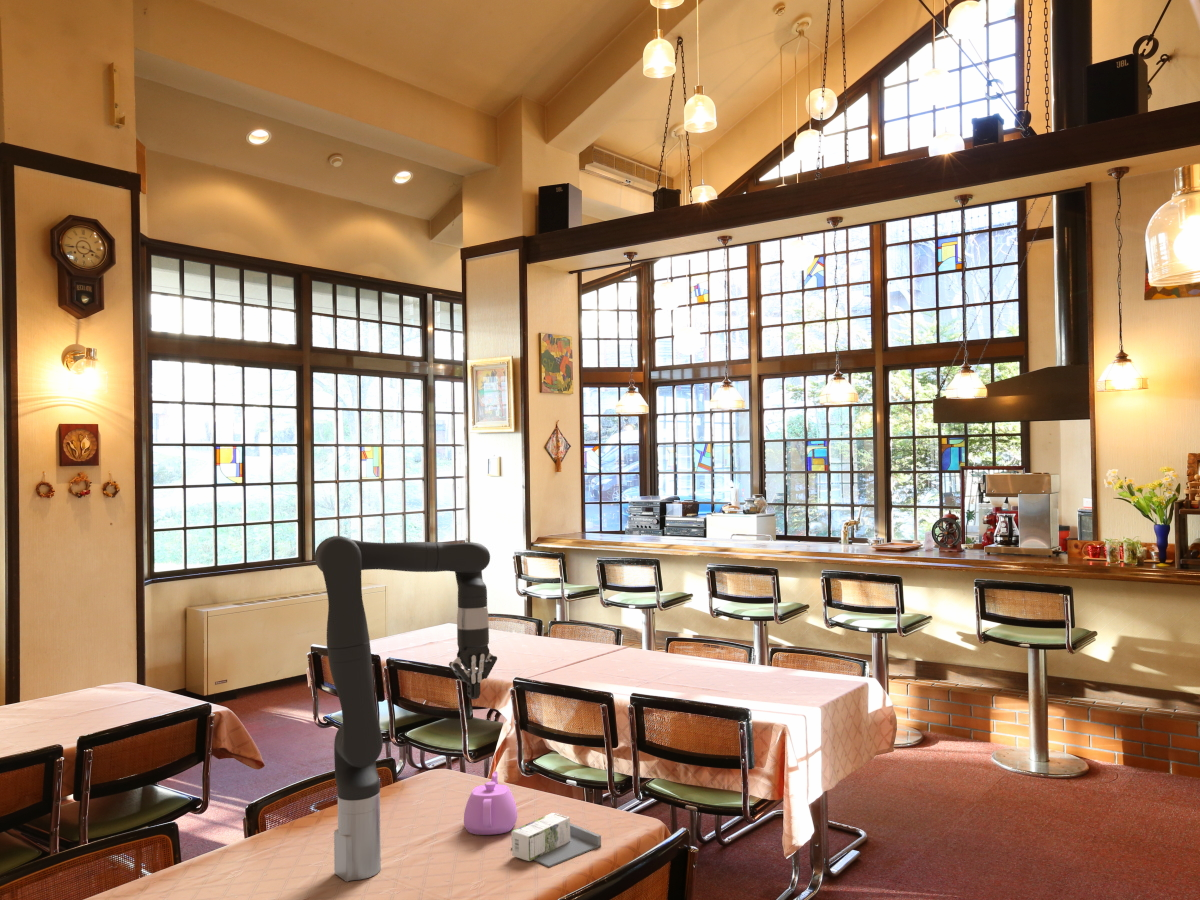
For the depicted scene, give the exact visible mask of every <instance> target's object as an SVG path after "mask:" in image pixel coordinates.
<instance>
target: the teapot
mask: <svg viewBox="0 0 1200 900" xmlns="http://www.w3.org/2000/svg"><path fill="white" fill-rule="evenodd" d="M498 774H499V773H498V771H493V772H492V775H491V781H487V782H485V783H484V784H481V785H477V786H475V787H474V788H473V789H472V791H471V793H470V795H469V797H468V799H467V801H466V804H465V808H464V812H463V813H464V814H463V825H464V827H465V830H467V832H468V833H470V834H472V835H473V834H474V835H480V836H481V835H482V836H485V835H486V836H490V835H492V836H493V835H501V834H506V833H508V832H510V831H512V830H513V828H514V826H515V825H516V823H517V820H518V808H517V803H516V800H515V797H514V796H513V793H512V791H511V789H510V787H509V786H508V785H506V784H500V783H499V780H498V777H499V776H498Z"/></svg>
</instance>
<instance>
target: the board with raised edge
mask: <svg viewBox="0 0 1200 900" xmlns="http://www.w3.org/2000/svg"><path fill="white" fill-rule="evenodd" d="M600 846H601V847H602V834H601V835H600V834H598V833H596V832H593V831H590V830H588V829H587V828H583V827H581V826H579V825H577V824H573V823H571V822H570V842H568V843H566V844H564V845H562V846H560V847H558V848H556V849H554V850H552V851H549V852H547V853H545V854H543V855H541V856H539V857H537V858H535V859H533V860H532V861H535V862H537V863H538V864H540V865H543V866H545V867H547V868H551V867H554V866H557V865H558V864H561V863H563V862H566V861H568V860H571V859H573V858H576V857H579V856H580V855H581V856H582V855H584V854H586V853H588V852H590V850H591V851H593V850H596V849H599V848H600ZM510 850H511V851H512V847H511V848H510ZM585 852H586V853H585ZM578 855H579V856H578Z"/></svg>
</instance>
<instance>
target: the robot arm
mask: <svg viewBox="0 0 1200 900" xmlns="http://www.w3.org/2000/svg"><path fill="white" fill-rule="evenodd" d="M314 561H315V564H316V566H317V568H318V569H319V570H320V572H322V575H323V579H324V584H325V588H326V589H325V590H326V594H327V603H328V604H327V605H328V608H327V609H328V610H327V612H328V613H327V620H326V621H327V622H326V648H327V657H328V665H329V669H330V670H329V671H330V675H331V678H332V681H333V684H334V688H335V691H336V693H337V694H336V695H337V697H338V700H339V703H340V704H339V705H340V708H341V714H342V718H341V719H342V724H341V725H340V726H339V727H338V729H337V731H336V734H335V736H334V743H333V746H334V747H333V753H334V755H333V757H334V778H335V783H336V789H337V828H336V829H335V830H334V831H333V839H334V840H333V843H334V844H333V845H334V846H333V847H334V848H333V851H334V853H333V855H334V859H333V861H334V867H333V868H334V874H335V875H336V876H338V877H339V878H341V879H342V880H344V881H345V882H351V881H359V880H365V879H369V878H371V877H373V876H375V875H377V874H378V873H379V872H380V871H381V868H382V867H381V866H382V864H381V861H382V857H381V855H382V854H381V851H382V850H381V849H382V847H381V846H382V845H381V781H380V777H379V774H378V769H377V760H378V759H379V758H380V755H381V754H382V750H383V745H384V742H383V741H384V740H383V739H384V738H383V735H382V730H381V725H380V721H379V717H378V712H377V707H376V702H375V693H374V692H375V691H374V690H375V689H374V688H375V687H374V674H373V663H372V662H373V660H372V652H371V650H372V649H371V643H370V641H371V640H370V635H369V634H370V633H369V627H368V622H367V615H366V611H365V606H364V601H363V591H362V571H366V570H367V571H368V570H386V571H388V570H389V571H399V572H411V573H413V572H414V573H437V572H453V573H455V579H456V584H457V614H456V615H457V616H456V626H457V627H456V633H457V634H456V635H457V638H456V639H457V642H456V644H457V648H458V650H457V653H456V658H455V659H454V660H453V661H450V662H449V663H448V666H449V668H450V669H451V670H452V671H453V673H454V675H455V676H456V677H457V678H458V679H459V681H460V682H464V683H466V686H467V687H466V689H467V690H466V692H467V693H466V695H467V697H468V698H469V699H470V700H477V699H478V700H479V699H480V696H481V683H482V681H483V680H485V679H488V677H489V675H490V673H491V671H492V670H493V667H494V666H495V664H496V662H497V660H498V657H497V656H496V655H493V654H491V653H490V649H489V646H488V645H489V644H490V643H489V642H490V630H489V629H490V628H489V623H490V622H489V610H488V588H487V584H486V583H485V582H484V580H483V571H484V570H485V569H487V568H488V566H489V564H490V561H491V555H490V551H489V549H488V548H487V547H486V546H485V545H483V544H481V543H478V542H472V541H466V542H463V543H445V542H440V541H436V542H435V541H407V542H406V541H405V542H371V541H362V540H355V539H351V538H348V537H345V536H341V535H333V536H329V537H326V538H325V539H324V540H322V541H321V542H320V543H319V544H318V545H317V547H316V549H315V552H314ZM462 667H463V668H462Z"/></svg>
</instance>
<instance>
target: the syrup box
mask: <svg viewBox="0 0 1200 900" xmlns="http://www.w3.org/2000/svg"><path fill="white" fill-rule="evenodd" d="M570 821H571V818H570V816H567V815H565V814H561V813H556V812H550V813H549V814H546V815H544V816H542V817H539V818H538V819H535V820H533V821H531V822H529V823H526V824H525V825H521V826H519V827H517V828H515V829H511V848H512V850H511V855H512V856H513V857H515V858H518V859H521V860H523V861H527V862H531V861H534V860H533V859H535V858H537V857H539V856H541V855H543V854H545V853H547V852H549V851H552V850H554V849H556V848H558V847H560V846H562V845H564V844H566V843H568V842H570V823H571V822H570Z"/></svg>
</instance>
